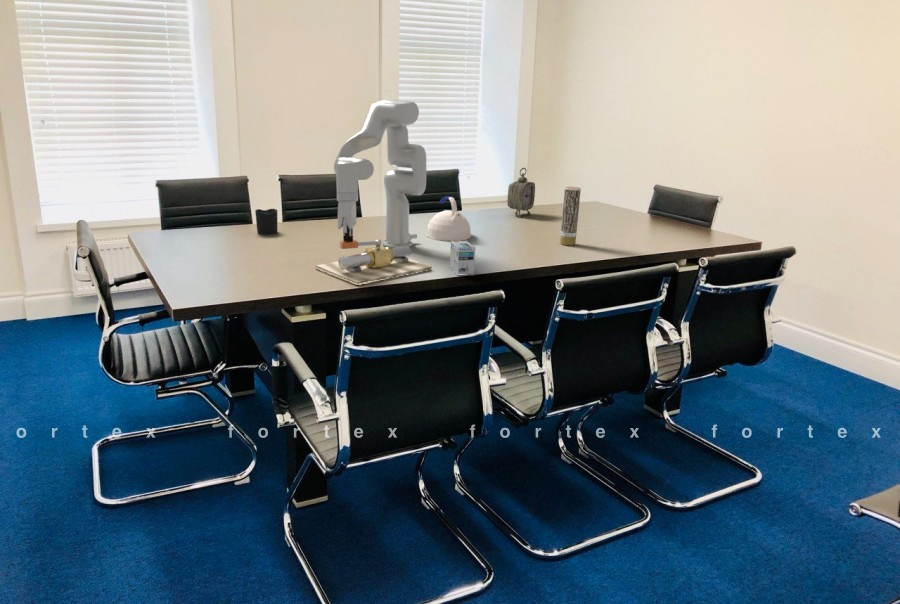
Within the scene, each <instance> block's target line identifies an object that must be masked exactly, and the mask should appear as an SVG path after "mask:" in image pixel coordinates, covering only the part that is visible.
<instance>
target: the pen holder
mask: <svg viewBox="0 0 900 604" xmlns="http://www.w3.org/2000/svg"><path fill="white" fill-rule="evenodd" d="M254 210H255V221H256V230H257V233H258V234H260V235H275V234H277V233H278V209H276V208H269V209H265V210H264V209H260V208H258V209H254Z"/></svg>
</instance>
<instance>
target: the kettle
mask: <svg viewBox="0 0 900 604" xmlns="http://www.w3.org/2000/svg"><path fill="white" fill-rule="evenodd" d="M455 199H456V198H454V197H453V196H450V195H449V196H444V197H442V198H441V199H440V201H439V202H438V203H439V204H444V203H445V201H447V200H449V201H450V205H451V210H450V209H444V210H443V211H440V212H437V213H436V214H434V216H433V217H432V218H430V220H429V223H428V224H427V231H426V237H428V238H429V239H432V240H435V241H436V240H437V241H445V242H451V241H468V240H469V239H471V237H472V233H471V226H470V223H469V220H468V219H467V218H466V217H465V216H464V215H463V214H462V213H461V212H459V211H458V208H457V207H458V206H457V202H456V200H455Z"/></svg>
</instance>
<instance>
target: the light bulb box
mask: <svg viewBox="0 0 900 604" xmlns="http://www.w3.org/2000/svg"><path fill="white" fill-rule="evenodd" d="M475 265H476V246H474V245H473V244H471V243H470V241H468V240H462V241H450V263H449V269H450V270H451V271H452V272H454V271H455V272H456V273H457V274H471V275H470V276H474V275H475V269H476V268H475V267H476V266H475ZM455 272H454V273H455ZM456 273H455V274H456ZM457 274H456V275H457ZM473 274H474V275H473Z"/></svg>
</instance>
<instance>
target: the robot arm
mask: <svg viewBox="0 0 900 604" xmlns="http://www.w3.org/2000/svg"><path fill="white" fill-rule="evenodd" d="M419 114H420V110H419V106H418V104H417V103H416V102H415V101H411V100H409V101H408V100H396V99H395V100H394V99H383V100H379V101H377V102H375V103H372V104H371V105H370V106H369V108H368V110H367V113H366V116H365V118H364V120H363V123H362V125H361V127H360V129H359V132H358V133H356V134H354V135H353V136H351V137H350V138H349V139H348V140H346V141H345V142H344V143H343V144H342V145H341V147H340V148H339V149H338V152H337V155H336V157H335V159H334V160H335V161H334V165H333V170H334V171H333V172H334V173H335V176H336V184H335V185H336V201H337V202H338V204H337V229H338V230H341V229H342V235H343V240H342V241H353V240H354V226H355V225H357V203H356V202H358V201H359V181H364V180H365V181H367V180H369V179H370V178H371V177H372V176H373V174H374V171H375V170H374V169H375V166H374V164H373V163H372V161H371V160H369V159H367V158H359V157H354V156H355V155H356V154H359V153H360V152H364V151H366V150H370V149H372V148H374V147H377V146H378V145H380V143H382V139H383V138H384V137H383V136H384V133H385V131H386V136H387V137H386V140H387V141H386V142H387V144H386V145H387V146H386V148H387V161H388V164H389V165H390V166H392V167H396V168H409V169H411V170H404V169H391V170H388V171H387V172H386V173H385V175H384V178H383V184H384V190H385V200H386V202H385V204H386V208H385V209H386V211H385V212H386V213H385V221H386V222H385V240H383V241H381V245H382V247H385V248H386V247H389V248H397V247H403V246H409V248H411V247H412V245H413V242H412V240H413V239H417V238H418V235H417V234H416V233H413V234H411V233H409V230H410V229H409V226H410V202H409V200H408V198H407V196H406V195H413V196H421V195H423V194H424V192H425V191H426V188H427V187H426V186H427V152H426V150H425V148H424V146H422V145H421V144H414V143H410V142H409V131H408V130H409V129H408V127H407V126H410V125H413V124H414V123H415V124H416V121H417V120H418V119H419Z"/></svg>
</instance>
